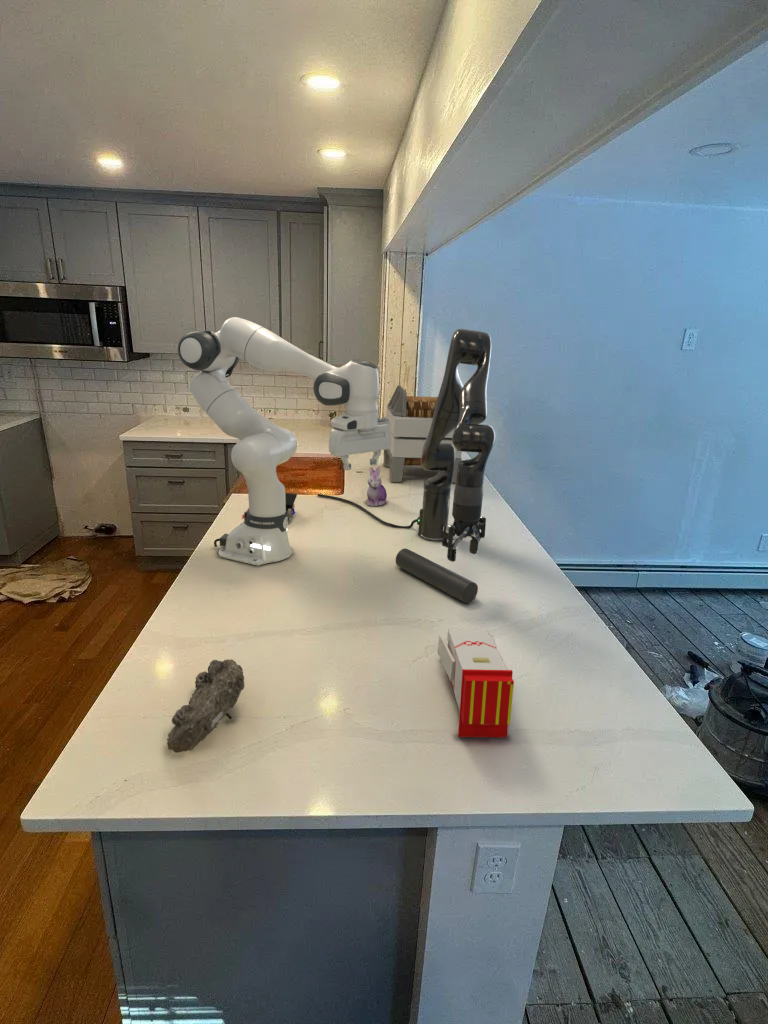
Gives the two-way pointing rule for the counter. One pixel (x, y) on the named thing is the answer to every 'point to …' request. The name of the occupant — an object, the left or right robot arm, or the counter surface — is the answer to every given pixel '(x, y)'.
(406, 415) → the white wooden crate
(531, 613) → the counter surface
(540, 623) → the counter surface
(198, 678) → the fossil
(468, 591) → the rod
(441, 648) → the toy
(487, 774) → the counter surface
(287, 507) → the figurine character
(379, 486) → the figurine
